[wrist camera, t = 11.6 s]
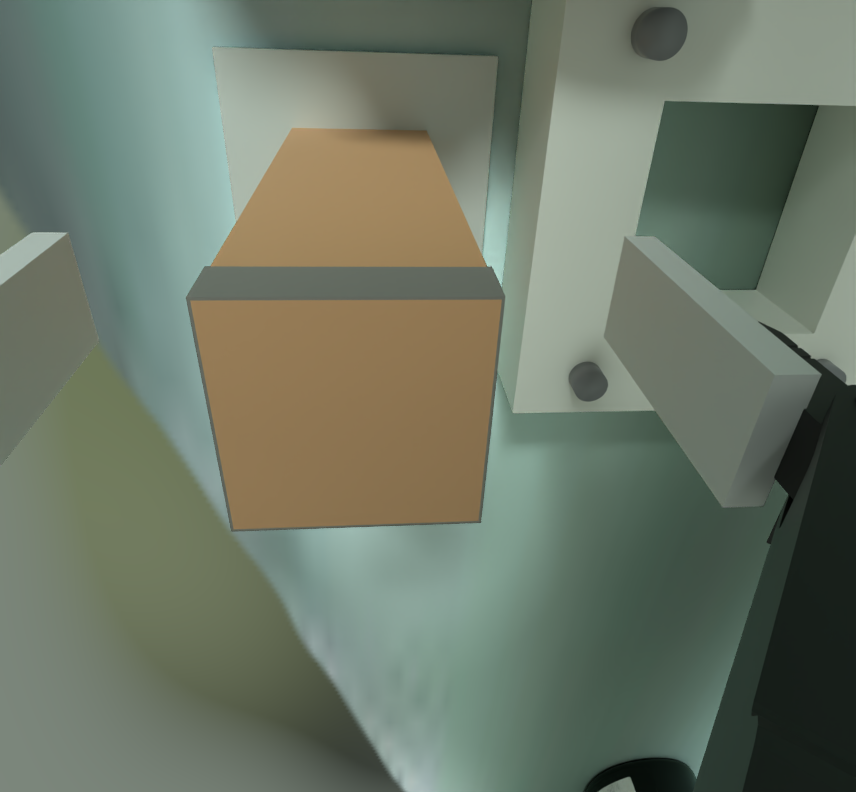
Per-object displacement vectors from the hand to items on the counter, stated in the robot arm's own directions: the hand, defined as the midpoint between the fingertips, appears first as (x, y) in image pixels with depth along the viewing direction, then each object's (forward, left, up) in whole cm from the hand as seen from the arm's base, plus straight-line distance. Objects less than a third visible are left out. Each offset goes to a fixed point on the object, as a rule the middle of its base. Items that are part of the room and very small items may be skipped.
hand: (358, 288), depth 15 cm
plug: (0, 0, -8) cm, 8 cm away
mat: (0, 0, -9) cm, 9 cm away
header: (0, +12, -9) cm, 15 cm away
